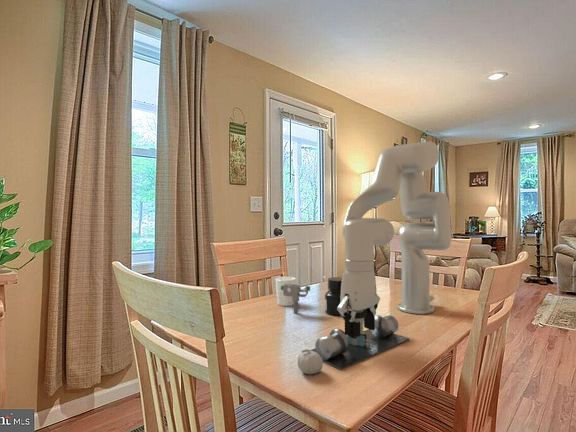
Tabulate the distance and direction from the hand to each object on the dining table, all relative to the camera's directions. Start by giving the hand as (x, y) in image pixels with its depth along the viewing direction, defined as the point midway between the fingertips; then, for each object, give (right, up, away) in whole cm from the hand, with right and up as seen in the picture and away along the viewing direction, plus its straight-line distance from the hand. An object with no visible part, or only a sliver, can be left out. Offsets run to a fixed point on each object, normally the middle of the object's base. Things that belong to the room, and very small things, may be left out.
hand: (359, 331), depth 92 cm
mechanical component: (-17, -4, +30) cm, 35 cm away
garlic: (-14, -5, -14) cm, 21 cm away
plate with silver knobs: (0, -4, 0) cm, 4 cm away
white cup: (-20, -4, +43) cm, 47 cm away
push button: (0, -4, 0) cm, 4 cm away
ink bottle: (-2, -4, +31) cm, 31 cm away
